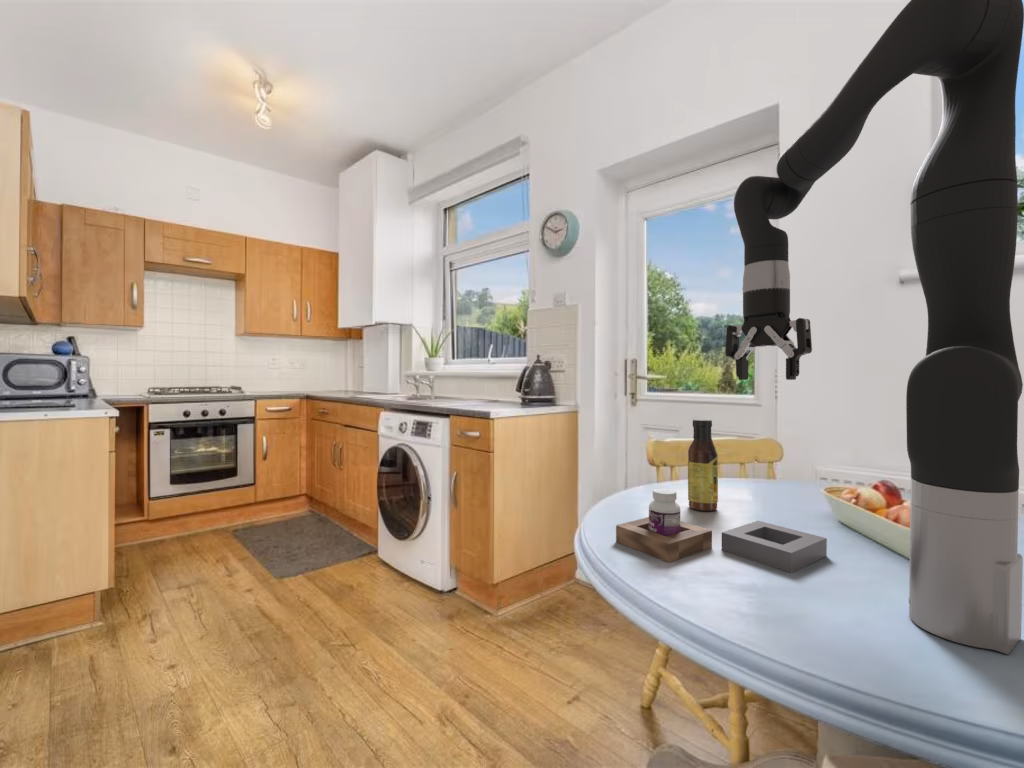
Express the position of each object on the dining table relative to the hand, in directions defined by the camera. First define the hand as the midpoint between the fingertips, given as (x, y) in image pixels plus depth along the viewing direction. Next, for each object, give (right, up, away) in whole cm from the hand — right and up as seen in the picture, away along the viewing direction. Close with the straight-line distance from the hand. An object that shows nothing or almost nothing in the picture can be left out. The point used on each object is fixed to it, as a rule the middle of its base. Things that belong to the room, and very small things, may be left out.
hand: (766, 379), depth 87 cm
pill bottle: (-19, -29, -2) cm, 35 cm away
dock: (-19, -29, -2) cm, 35 cm away
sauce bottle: (-3, -29, +21) cm, 36 cm away
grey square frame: (-2, -29, -6) cm, 30 cm away
